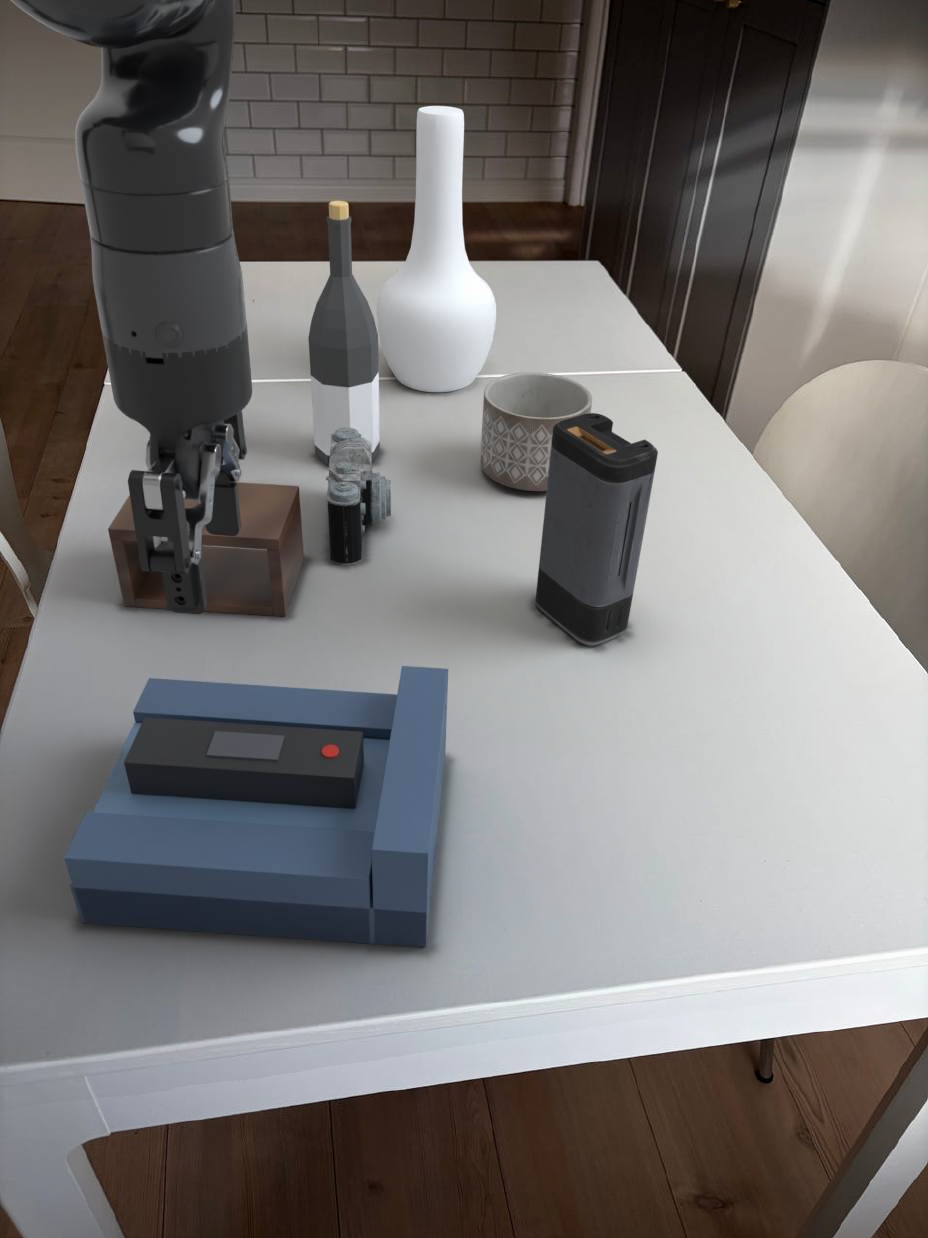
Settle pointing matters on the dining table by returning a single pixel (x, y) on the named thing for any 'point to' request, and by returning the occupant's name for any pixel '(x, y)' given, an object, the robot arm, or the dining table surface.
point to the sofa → (277, 826)
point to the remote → (246, 763)
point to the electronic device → (593, 527)
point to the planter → (526, 425)
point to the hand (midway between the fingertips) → (207, 569)
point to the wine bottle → (343, 348)
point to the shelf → (227, 556)
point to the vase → (437, 273)
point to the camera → (353, 495)
